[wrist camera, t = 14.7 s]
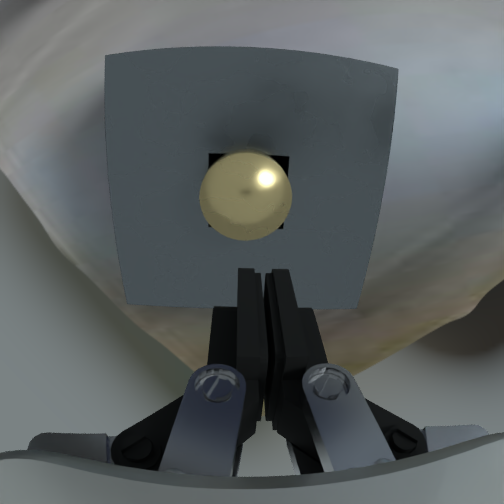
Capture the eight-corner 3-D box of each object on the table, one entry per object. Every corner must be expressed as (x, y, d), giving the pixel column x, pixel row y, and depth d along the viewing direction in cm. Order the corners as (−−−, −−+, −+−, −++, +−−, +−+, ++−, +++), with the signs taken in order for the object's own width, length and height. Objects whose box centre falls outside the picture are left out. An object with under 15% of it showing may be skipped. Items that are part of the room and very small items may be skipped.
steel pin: (278, 135, 28) (295, 155, 19) (274, 197, 31) (287, 241, 22) (212, 133, 28) (199, 152, 19) (211, 195, 30) (200, 239, 22)
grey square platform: (359, 72, 25) (398, 68, 18) (334, 262, 34) (356, 308, 27) (139, 63, 24) (105, 55, 17) (148, 257, 33) (127, 303, 26)
